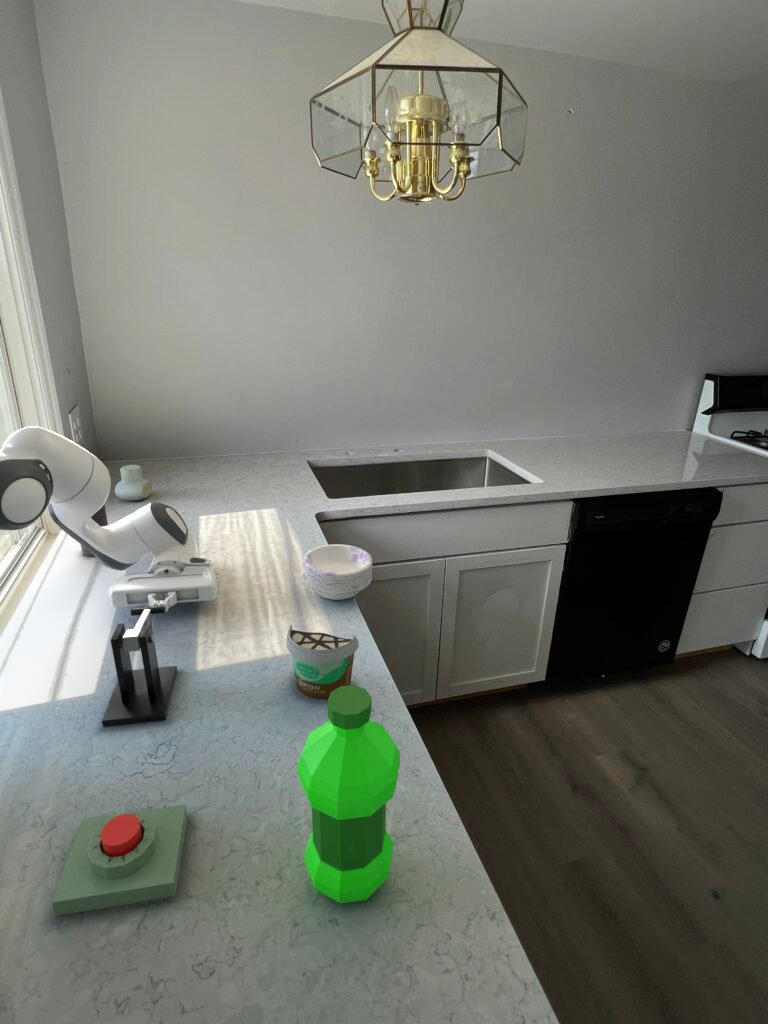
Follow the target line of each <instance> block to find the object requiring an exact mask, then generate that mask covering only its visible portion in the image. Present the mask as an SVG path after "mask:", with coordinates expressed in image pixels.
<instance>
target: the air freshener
mask: <svg viewBox="0 0 768 1024" xmlns="http://www.w3.org/2000/svg"><path fill="white" fill-rule="evenodd" d="M119 472H120V478H121V480H120V481H118V483H117V484H116V485H115V487H114V495H116V496H117V498H119V499H121V500H124V501H128V502H131V501H132V502H135V501H140V500H145V499H146V498H147V497H149V495H150V494H151V492H152V489H153V484H152V482H151V481H149V480H148V479H147V478H143V471H142V466H140V465H139V464H127V465H126V464H125V465H123V466H121V467H120V468H119Z"/></svg>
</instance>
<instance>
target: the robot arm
mask: <svg viewBox="0 0 768 1024" xmlns="http://www.w3.org/2000/svg"><path fill="white" fill-rule="evenodd" d="M111 487H112V479H111V474H110V471H109V469H108V468H107V466H106V465H105V464H104V463H103V461H102V460H100V459H99V458H98V457H97V456H96V455H94V454H93V453H91V452H89V450H87V449H86V448H84V447H82V446H81V445H80V444H77V443H76V442H74V441H73V440H70V439H69V438H67V437H66V436H63V435H61V434H59V433H57V432H54V431H52V430H50V429H48V428H44V427H41V426H26V427H23V428H20V429H17V430H16V431H14V432H13V433H11V434H10V435H9V436H8V437H7V438H6V440H5V441H4V442H3V445H2V447H1V448H0V531H19V530H24V529H26V528H28V527H30V526H32V525H33V524H35V522H36V521H38V519H40V517H41V516H42V515H43V514H44V512H45V511H46V509H48V513H49V515H50V518H51V520H52V521H53V522H54V523H55V524H56V525H57V526H58V528H59V529H61V530H62V531H63V532H64V533H65V534H67V535H68V536H69V537H70V538H72V539H73V540H74V541H76V542H77V543H79V545H80V544H81V545H83V546H84V547H85V548H86V549H88V550H89V551H90V552H92V553H93V554H94V555H95V556H94V557H95V558H96V559H97V560H98V562H100V563H101V564H102V565H103V566H104V567H105V568H108V569H111V570H113V571H114V570H115V571H121V572H122V571H126V570H127V569H129V568H131V567H132V566H134V565H135V564H137V562H139V561H141V560H142V559H144V558H146V557H149V556H150V555H152V554H153V555H154V557H153V559H152V562H151V564H150V566H149V569H148V570H147V573H137V574H136V573H135V574H125V575H122V576H120V577H119V578H118V579H116V580H115V582H114V583H113V584H112V585H111V586H110V588H109V590H108V599H109V603H110V605H111V606H112V607H114V608H125V607H137V606H138V607H139V606H149V608H150V607H163V606H165V608H166V612H165V613H167V612H169V608H172V607H173V606H175V605H176V604H179V603H194V602H207V601H213V600H215V599H217V598H218V583H217V575H216V570H214V568H213V563H212V560H211V559H210V558H202V557H198V556H199V555H198V553H199V549H198V543H197V541H196V538H195V537H194V536H193V535H192V533H191V532H189V528H188V526H187V524H186V522H185V520H184V519H183V517H182V516H181V515H180V513H179V512H178V511H177V510H176V509H175V508H173V507H172V506H170V505H168V504H165V503H162V502H159V501H152V502H150V503H148V504H147V505H144V506H143V507H140V508H139V509H137V510H135V511H134V512H132V513H130V514H128V515H126V516H125V517H123V518H121V519H119V520H117V521H115V522H114V523H111V524H108V526H103V527H101V526H99V525H98V524H97V523H96V522H95V521H94V520H93V519H91V517H92V516H93V515H94V514H95V513H96V512H97V511H98V510H99V509H101V507H102V506H103V505H104V504H106V502H107V500H108V498H109V496H110V493H111ZM81 545H80V546H81Z"/></svg>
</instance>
